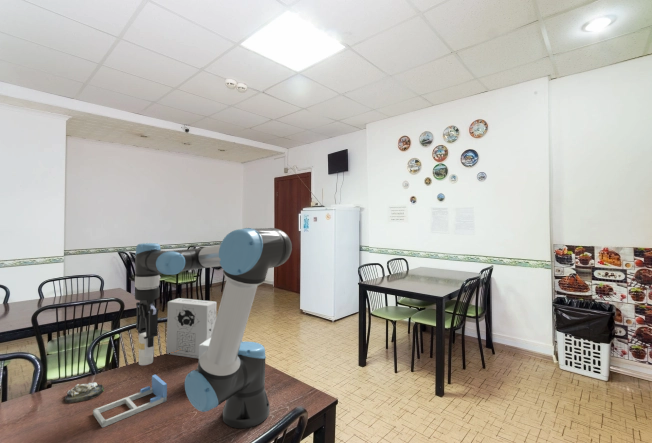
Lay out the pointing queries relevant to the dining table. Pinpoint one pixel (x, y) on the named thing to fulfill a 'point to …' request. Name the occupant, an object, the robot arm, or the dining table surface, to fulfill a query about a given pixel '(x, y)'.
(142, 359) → the white cylinder
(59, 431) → the dining table surface
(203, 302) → the cereal box
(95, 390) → the grey lumpy oval piece
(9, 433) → the dining table surface
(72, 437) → the dining table surface
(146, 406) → the grey slotted tray
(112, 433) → the dining table surface
